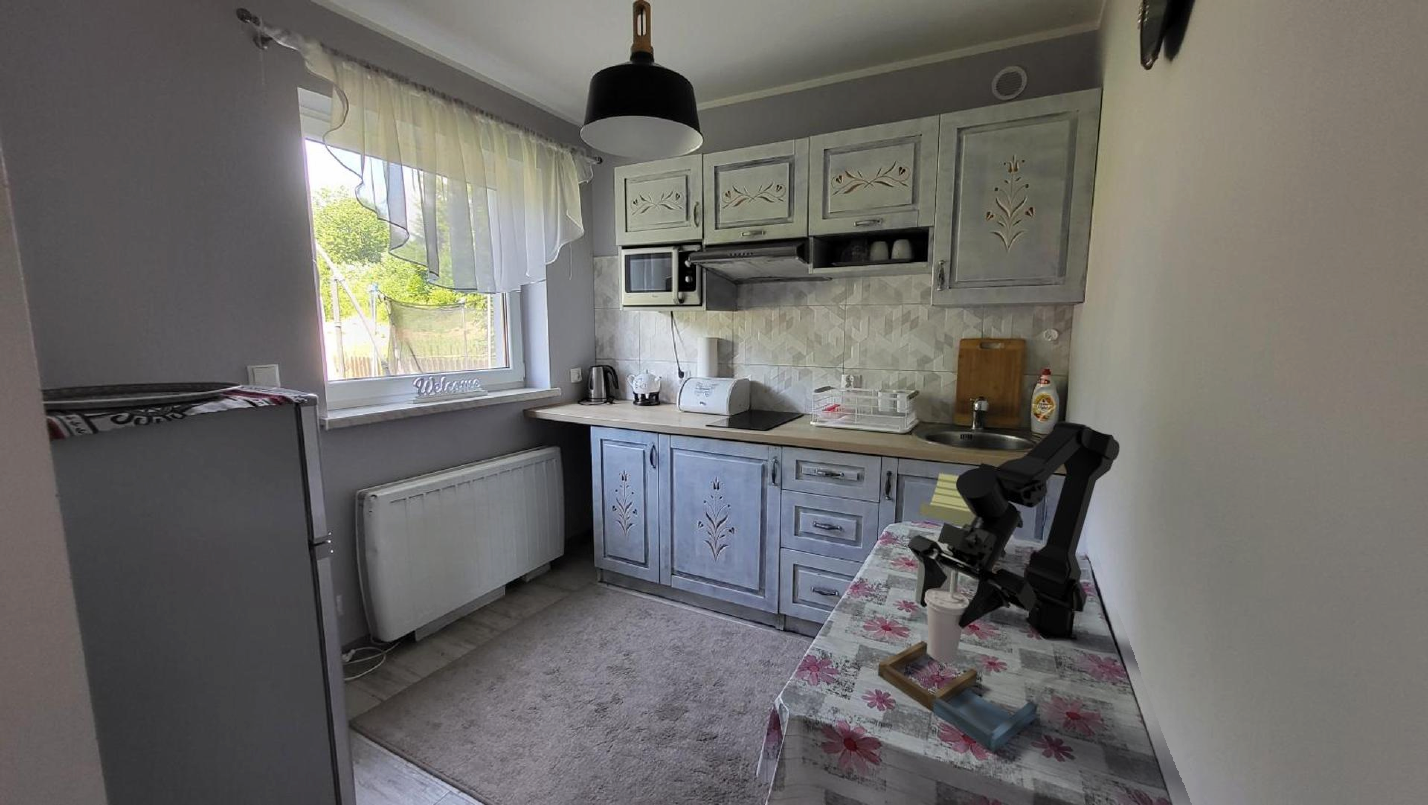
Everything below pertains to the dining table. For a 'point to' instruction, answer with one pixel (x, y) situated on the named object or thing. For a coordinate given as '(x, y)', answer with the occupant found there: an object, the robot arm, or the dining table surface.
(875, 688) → the dining table surface
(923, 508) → the slatted curved stool
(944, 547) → the supplement box
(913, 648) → the blue and brown frame
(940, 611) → the smoothie
